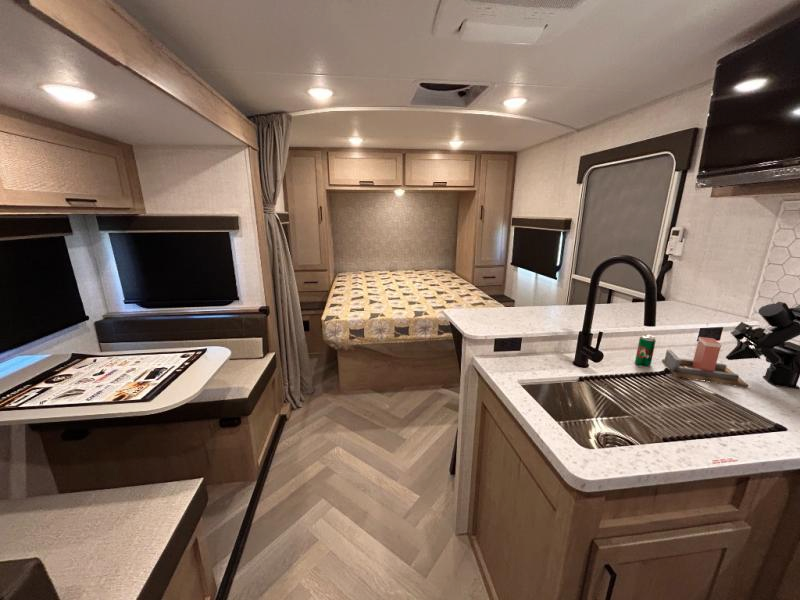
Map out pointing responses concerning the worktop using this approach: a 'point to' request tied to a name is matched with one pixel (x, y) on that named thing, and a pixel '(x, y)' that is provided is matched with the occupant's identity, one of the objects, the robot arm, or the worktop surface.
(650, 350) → the soda can
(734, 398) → the worktop surface
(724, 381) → the board
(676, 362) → the guide rails
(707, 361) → the red plug
